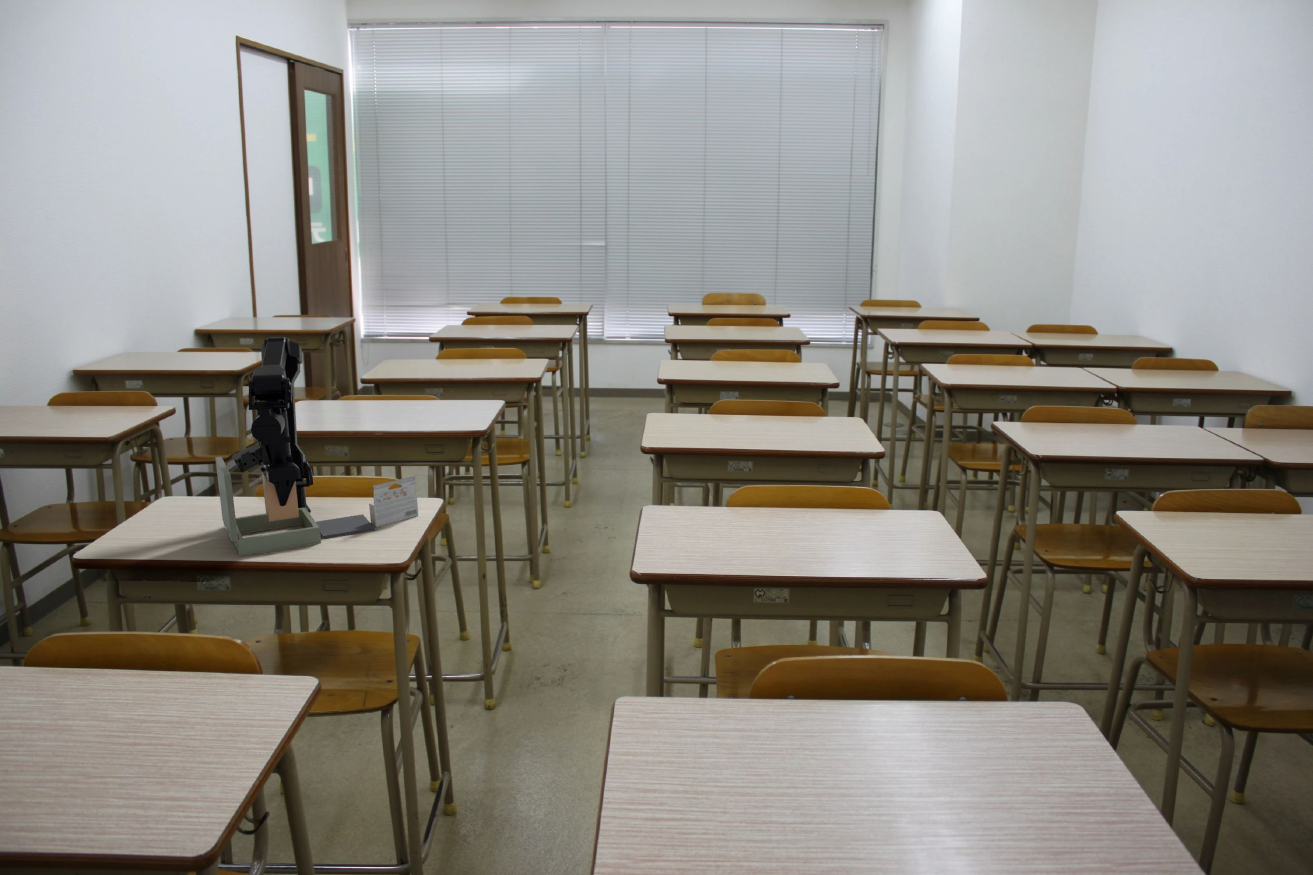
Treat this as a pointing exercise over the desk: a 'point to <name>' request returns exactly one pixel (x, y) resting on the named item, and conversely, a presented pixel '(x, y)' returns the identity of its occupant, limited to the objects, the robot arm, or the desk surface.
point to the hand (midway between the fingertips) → (281, 503)
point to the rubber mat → (344, 526)
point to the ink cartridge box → (394, 502)
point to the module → (273, 505)
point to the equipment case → (261, 523)
